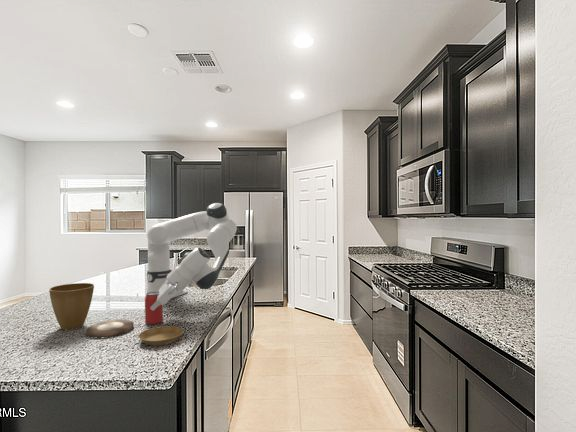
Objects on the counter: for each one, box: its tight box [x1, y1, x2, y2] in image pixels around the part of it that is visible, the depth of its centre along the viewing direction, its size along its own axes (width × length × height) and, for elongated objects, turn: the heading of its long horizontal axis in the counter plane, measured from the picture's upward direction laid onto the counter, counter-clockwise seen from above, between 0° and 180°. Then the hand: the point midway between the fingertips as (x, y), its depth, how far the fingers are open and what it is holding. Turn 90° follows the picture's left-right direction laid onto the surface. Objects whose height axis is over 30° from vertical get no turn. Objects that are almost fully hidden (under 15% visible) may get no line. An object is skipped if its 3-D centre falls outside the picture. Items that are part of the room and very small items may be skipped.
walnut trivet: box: [85, 319, 135, 339], centre depth 127 cm, size 16×16×2 cm
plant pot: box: [48, 282, 95, 331], centre depth 131 cm, size 15×15×16 cm
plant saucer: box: [137, 325, 184, 347], centre depth 117 cm, size 15×15×3 cm
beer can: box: [144, 292, 164, 326], centre depth 135 cm, size 7×7×12 cm
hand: (152, 306), depth 135 cm, fingers closed on beer can, 7 cm apart
